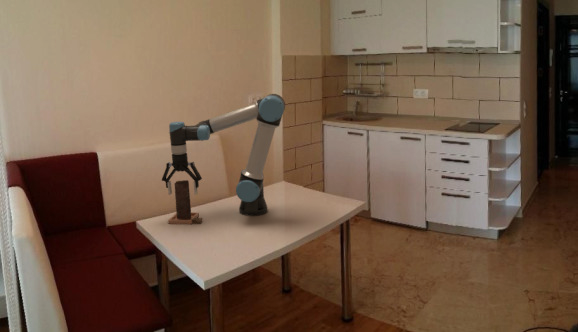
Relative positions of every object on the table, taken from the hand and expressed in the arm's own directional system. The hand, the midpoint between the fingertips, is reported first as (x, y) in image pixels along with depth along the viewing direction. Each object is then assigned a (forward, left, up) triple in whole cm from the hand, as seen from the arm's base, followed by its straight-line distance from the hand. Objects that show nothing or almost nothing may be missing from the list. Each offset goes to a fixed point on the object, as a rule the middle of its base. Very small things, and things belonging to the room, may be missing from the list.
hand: (183, 194), depth 263 cm
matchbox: (-8, +4, -14) cm, 16 cm away
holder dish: (0, 0, -14) cm, 14 cm away
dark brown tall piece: (0, 0, -13) cm, 13 cm away
